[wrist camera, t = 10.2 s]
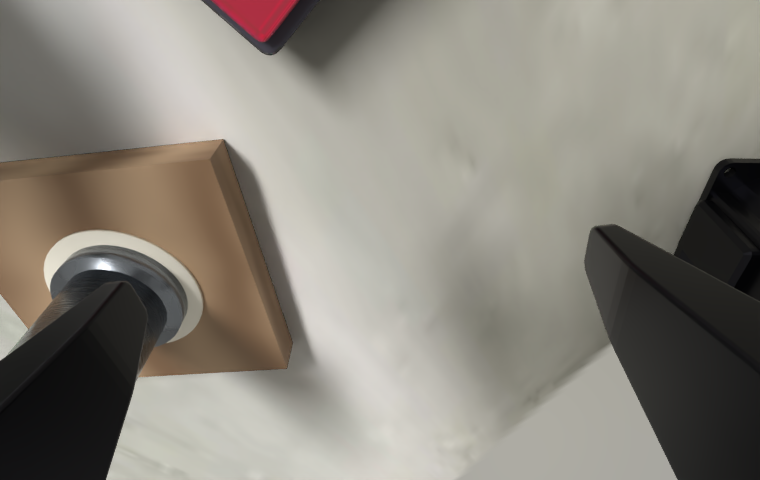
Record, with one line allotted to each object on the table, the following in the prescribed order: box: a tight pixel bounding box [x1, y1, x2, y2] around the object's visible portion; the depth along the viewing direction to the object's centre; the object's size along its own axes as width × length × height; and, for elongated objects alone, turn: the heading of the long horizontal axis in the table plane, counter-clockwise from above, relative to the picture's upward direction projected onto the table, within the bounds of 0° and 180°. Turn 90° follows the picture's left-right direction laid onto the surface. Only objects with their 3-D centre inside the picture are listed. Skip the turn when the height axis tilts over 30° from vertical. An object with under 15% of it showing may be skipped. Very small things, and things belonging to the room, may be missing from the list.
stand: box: [0, 139, 293, 377], centre depth 26 cm, size 14×14×2 cm
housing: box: [8, 245, 188, 380], centre depth 20 cm, size 6×6×13 cm
